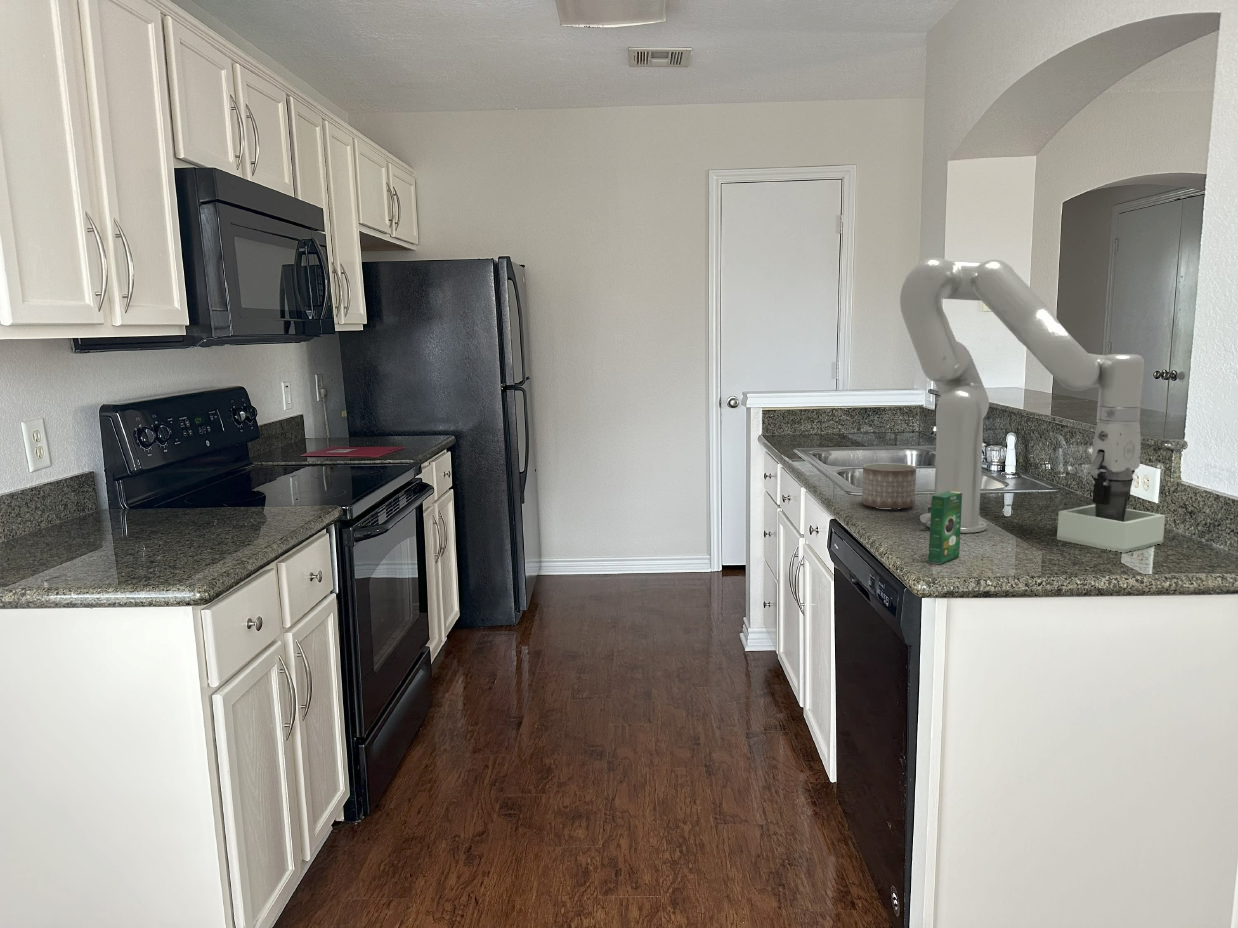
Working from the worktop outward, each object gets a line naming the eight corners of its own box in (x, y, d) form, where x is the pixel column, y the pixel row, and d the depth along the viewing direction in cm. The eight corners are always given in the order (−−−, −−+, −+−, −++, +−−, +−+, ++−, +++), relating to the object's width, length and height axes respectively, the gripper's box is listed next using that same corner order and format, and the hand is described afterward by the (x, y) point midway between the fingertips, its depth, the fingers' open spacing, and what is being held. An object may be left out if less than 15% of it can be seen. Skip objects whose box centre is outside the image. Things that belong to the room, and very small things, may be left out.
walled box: (1124, 553, 168) (1126, 523, 167) (1056, 539, 180) (1058, 511, 179) (1162, 543, 175) (1165, 515, 174) (1095, 530, 187) (1097, 503, 186)
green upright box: (946, 554, 169) (949, 489, 167) (960, 557, 167) (963, 491, 165) (926, 562, 164) (929, 494, 162) (941, 565, 162) (944, 496, 160)
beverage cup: (1112, 538, 173) (1120, 440, 170) (1080, 531, 179) (1087, 436, 176) (1137, 534, 176) (1145, 438, 173) (1104, 527, 182) (1112, 434, 179)
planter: (922, 506, 216) (924, 465, 215) (902, 514, 207) (904, 472, 205) (874, 500, 224) (875, 461, 223) (853, 508, 215) (854, 467, 213)
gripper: (1112, 419, 166) (1104, 509, 169) (1160, 414, 175) (1152, 500, 178) (1075, 416, 173) (1068, 503, 175) (1123, 411, 181) (1116, 494, 184)
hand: (1111, 501), depth 177 cm, fingers closed on beverage cup, 6 cm apart
